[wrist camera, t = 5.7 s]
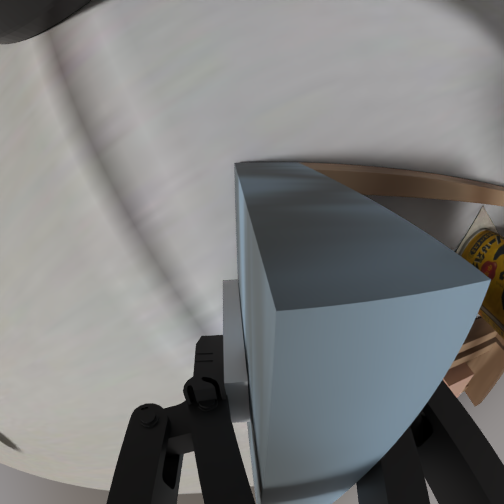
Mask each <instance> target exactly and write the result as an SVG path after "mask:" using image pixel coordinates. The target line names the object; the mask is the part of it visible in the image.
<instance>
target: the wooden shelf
mask: <svg viewBox="0 0 504 504" xmlns="http://www.w3.org/2000/svg"><path fill="white" fill-rule="evenodd" d="M234 164H235V204H236V237H237V265H238V287H239V298H240V308H241V319H242V329H243V339H244V349H245V359H246V369H247V378H248V393H249V410H250V422H247V426H248V435H249V444H250V454H251V462H252V471H253V480H254V488H255V496H256V503H257V504H332V503H333V502H334V501H336V500H337V499H338V498H339V497H340V496H342V495H343V494H344V493H345V492H346V491H348V490H349V489H350V488H351V487H352V486H353V485H354V484H355V483H357V482H358V481H359V480H360V479H361V478H362V477H363V476H364V475H365V474H366V473H367V472H368V471H369V470H370V469H371V468H372V467H373V466H374V465H375V464H376V463H377V462H378V461H379V460H380V459H381V458H382V457H383V456H384V455H385V454H386V453H387V452H388V451H389V449H390V448H391V447H392V446H393V445H394V444H395V443H396V442H397V440H398V439H399V438H400V437H401V436H402V434H403V433H404V432H405V431H406V430H407V428H408V427H409V426H410V425H411V423H412V422H413V421H414V420H415V418H416V417H417V416H418V414H419V413H420V412H421V410H422V409H423V408H424V406H425V405H426V403H427V402H428V401H429V399H430V398H431V396H432V395H433V393H434V392H435V390H436V389H437V387H438V386H439V384H440V383H441V381H442V380H443V378H444V376H445V375H446V373H447V371H448V370H449V368H450V366H451V365H452V363H453V361H454V360H455V358H456V356H457V354H458V353H460V352H463V351H465V350H468V349H470V348H472V347H475V346H477V345H479V344H481V343H483V342H486V341H488V340H490V339H492V338H494V337H496V338H497V339H498V340H499V341H500V342H501V344H502V345H503V346H504V339H503V338H502V337H501V336H500V335H499V334H498V333H497V332H496V331H495V330H494V329H493V328H492V327H491V326H490V325H489V324H488V323H487V322H486V321H485V320H484V319H483V318H479V319H476V320H475V318H476V316H477V314H478V312H479V309H480V307H481V305H482V302H483V300H484V297H485V295H486V292H487V289H488V287H489V284H490V281H491V279H490V278H489V277H487V276H486V275H485V274H484V273H482V272H481V271H480V270H478V269H477V268H476V267H474V266H473V265H472V264H470V263H469V262H468V261H466V260H465V259H464V258H462V257H461V256H460V255H458V254H457V253H455V252H454V251H453V250H451V249H450V248H448V247H447V246H445V245H444V244H442V243H441V242H439V241H438V240H437V239H435V238H434V237H432V236H430V235H429V234H427V233H426V232H424V231H423V230H421V229H420V228H418V227H417V226H415V225H413V224H412V223H410V222H409V221H407V220H405V219H404V218H402V217H400V216H399V215H397V214H395V213H394V212H392V211H390V210H389V209H387V208H385V207H383V206H382V205H380V204H378V203H376V202H375V201H373V200H371V199H369V198H368V197H366V196H364V195H378V196H399V197H415V198H429V199H442V200H453V201H463V202H473V203H481V204H490V205H498V206H504V187H501V186H497V185H492V184H488V183H483V182H478V181H473V180H468V179H463V178H457V177H452V176H446V175H440V174H433V173H426V172H419V171H411V170H403V169H394V168H384V167H374V166H361V165H347V164H329V163H300V162H249V163H234Z"/></svg>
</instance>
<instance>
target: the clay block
mask: <svg viewBox="0 0 504 504" xmlns="http://www.w3.org/2000/svg"><path fill="white" fill-rule="evenodd" d="M473 375H474V373H473V371H472V370H471V369H470V368H469V366H468V365H467V364H466V362H464V363H462V364H460V365H458V366H455V367H453V368H450V369H449V370H448V371H447V373H446V375H445V376H444V378H443V381H444V382H445V383H446V385H447V386H448V387H449V388H450V390H451V391H452V392H453V394H454V395H455V396H456V398H458V396H459V395H460V394H461V392H462V391H463V390H464V388H465V387H466V385H467V384H468V383H469V381H470V380H471V378H472V377H473Z"/></svg>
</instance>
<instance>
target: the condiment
mask: <svg viewBox="0 0 504 504" xmlns="http://www.w3.org/2000/svg"><path fill="white" fill-rule="evenodd" d="M456 253H457V254H458V255H460V256H461V257H462V258H464V259H465V260H466V261H468V262H469V263H470V264H472V265H473V266H474V267H476V268H477V269H478V270H480V271H481V272H482V273H484V274H485V275H486V276H487V277H489V278H490V279H491V281H490V284H489V287H488V289H487V292H486V295H485V297H484V300H483V302H482V305H481V307H480V309H479V312H478V314H479V315H480V316H481V317H482V318H483V319H484V320H485V321H486V322H487V323H488V324H489V325H490V326H491V327H492V328H493V329H494V330H495V331H496V332H497V333H498V334H499V335H500V336H501V337H502V338H503V339H504V237H502V236H500V235H499V233H498V231H497V230H496V228H495V226H494V224H493V223H492V221H491V219H490V218H489V215H488V214H487V212H486V211H485V209H484V206H483V207H482V209H481V210H480V213H479V215H478V216H477V218H476V219H475V221H474V223H473V225H472V226H471V228H470V229H469V231H468V233H467V235H466V236H465V238H464V239H463V241H462V242H461V244H460V246H459V248H458V249H457V251H456Z"/></svg>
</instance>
